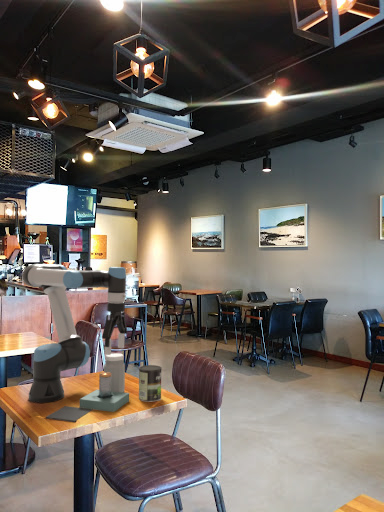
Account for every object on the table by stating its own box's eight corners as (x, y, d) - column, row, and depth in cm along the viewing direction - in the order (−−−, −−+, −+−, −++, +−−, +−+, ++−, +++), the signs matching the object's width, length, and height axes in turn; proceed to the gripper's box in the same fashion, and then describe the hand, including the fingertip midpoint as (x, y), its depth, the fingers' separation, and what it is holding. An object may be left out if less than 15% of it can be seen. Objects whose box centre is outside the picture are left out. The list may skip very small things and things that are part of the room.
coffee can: (163, 396, 187) (164, 365, 187) (157, 403, 177) (158, 371, 177) (142, 394, 189) (143, 364, 189) (135, 401, 179) (135, 369, 179)
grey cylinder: (96, 405, 172) (97, 374, 172) (102, 401, 177) (103, 371, 177) (107, 406, 170) (107, 375, 171) (112, 403, 175) (113, 372, 176)
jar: (99, 395, 187) (99, 356, 188) (110, 389, 196) (111, 352, 197) (117, 397, 184) (117, 358, 184) (128, 391, 193) (128, 353, 193)
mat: (45, 418, 158) (45, 416, 158) (65, 407, 170) (65, 405, 170) (75, 422, 154) (75, 420, 154) (92, 410, 167) (92, 409, 167)
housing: (79, 408, 169) (79, 399, 169) (96, 398, 183) (96, 389, 183) (114, 413, 165) (114, 403, 165) (128, 402, 178) (129, 393, 178)
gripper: (111, 305, 163) (109, 358, 163) (135, 300, 188) (133, 346, 187) (94, 304, 165) (93, 356, 165) (120, 299, 189) (118, 344, 189)
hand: (114, 351), depth 176 cm, fingers open, 13 cm apart
